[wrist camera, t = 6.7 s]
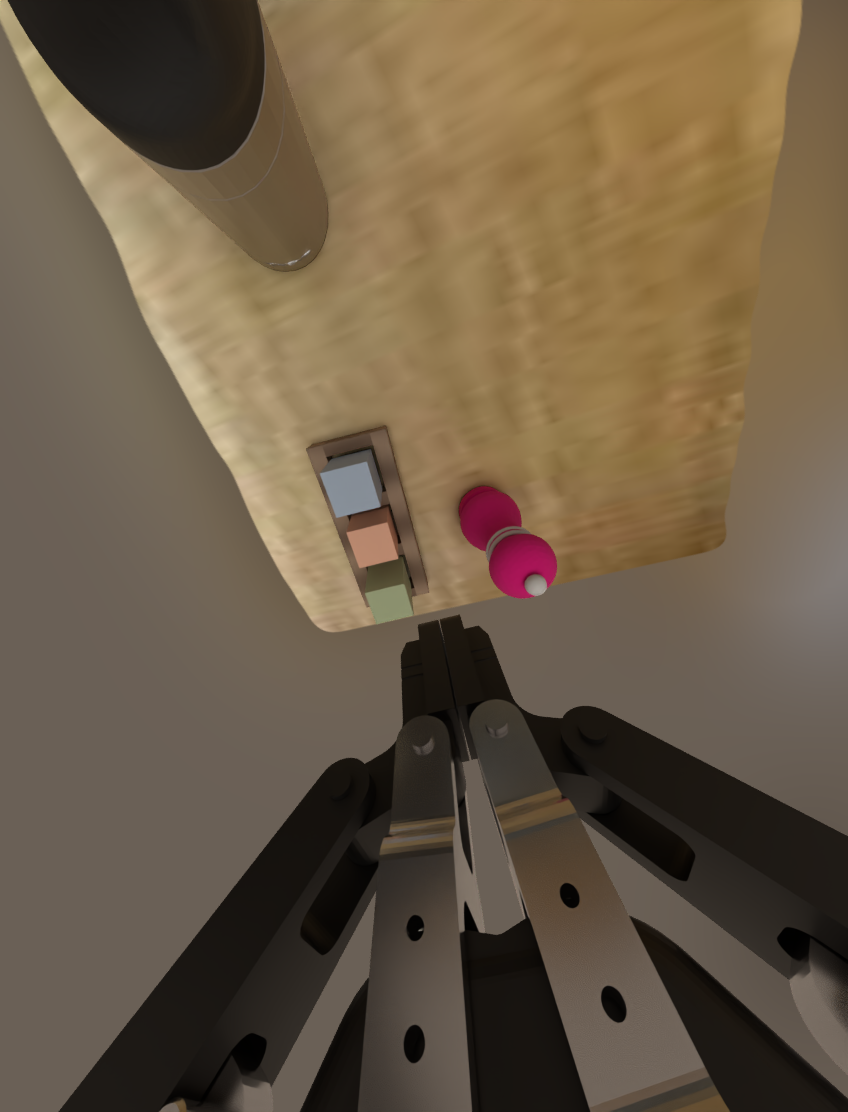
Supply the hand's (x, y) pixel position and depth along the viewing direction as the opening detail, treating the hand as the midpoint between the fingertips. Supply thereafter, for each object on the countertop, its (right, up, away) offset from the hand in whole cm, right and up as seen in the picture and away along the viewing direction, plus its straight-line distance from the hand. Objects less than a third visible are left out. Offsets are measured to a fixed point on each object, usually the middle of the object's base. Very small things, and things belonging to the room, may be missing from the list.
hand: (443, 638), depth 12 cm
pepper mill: (+7, +9, +33) cm, 35 cm away
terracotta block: (-7, +7, +32) cm, 33 cm away
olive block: (-5, 0, +34) cm, 34 cm away
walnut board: (-7, +8, +33) cm, 34 cm away
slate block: (-8, +12, +27) cm, 31 cm away
